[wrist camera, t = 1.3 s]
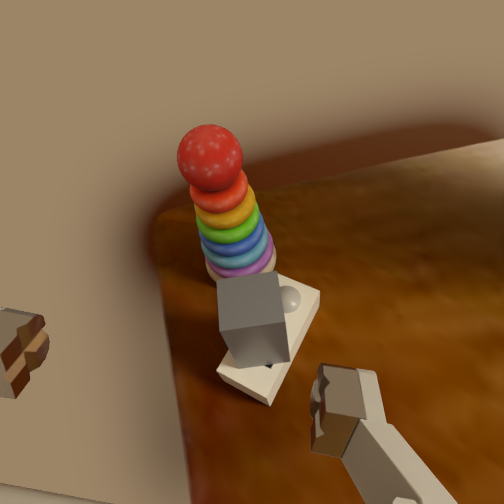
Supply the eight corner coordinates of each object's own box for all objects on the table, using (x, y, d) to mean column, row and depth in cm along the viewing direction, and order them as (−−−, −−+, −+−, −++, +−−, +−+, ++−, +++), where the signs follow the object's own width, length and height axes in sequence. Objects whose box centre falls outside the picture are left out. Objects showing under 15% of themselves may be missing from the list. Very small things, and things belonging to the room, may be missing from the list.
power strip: (276, 287, 41) (273, 270, 38) (319, 306, 39) (320, 290, 36) (223, 380, 36) (215, 369, 33) (270, 406, 34) (266, 397, 31)
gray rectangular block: (291, 368, 35) (285, 321, 25) (242, 375, 35) (219, 331, 26) (284, 327, 37) (277, 270, 28) (239, 334, 37) (216, 279, 28)
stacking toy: (202, 244, 45) (146, 111, 30) (266, 226, 46) (244, 84, 30) (214, 301, 41) (158, 180, 25) (285, 281, 41) (272, 149, 26)
